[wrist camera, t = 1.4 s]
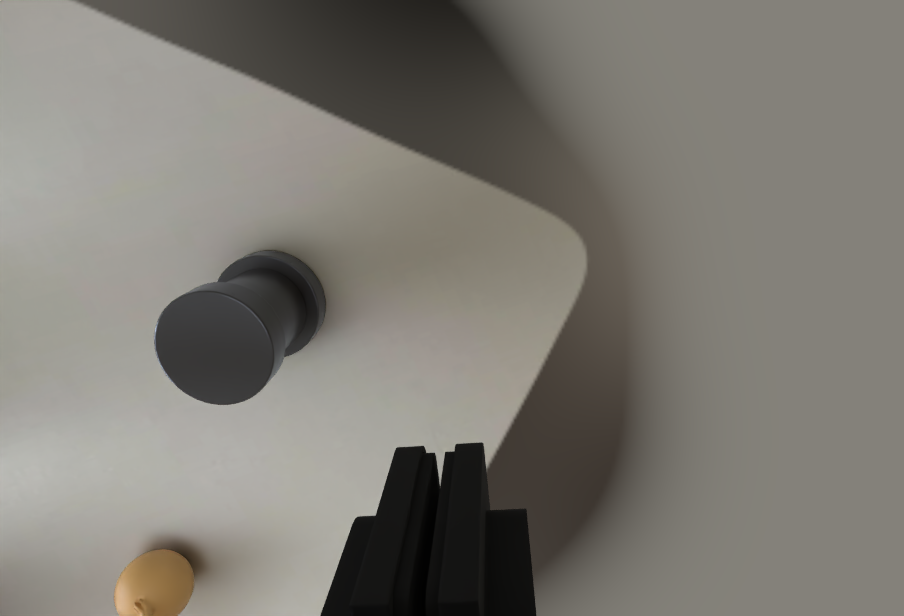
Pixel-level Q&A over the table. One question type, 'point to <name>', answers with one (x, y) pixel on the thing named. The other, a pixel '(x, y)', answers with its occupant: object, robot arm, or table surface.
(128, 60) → the table surface
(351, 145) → the table surface
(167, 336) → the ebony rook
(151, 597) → the figurine
